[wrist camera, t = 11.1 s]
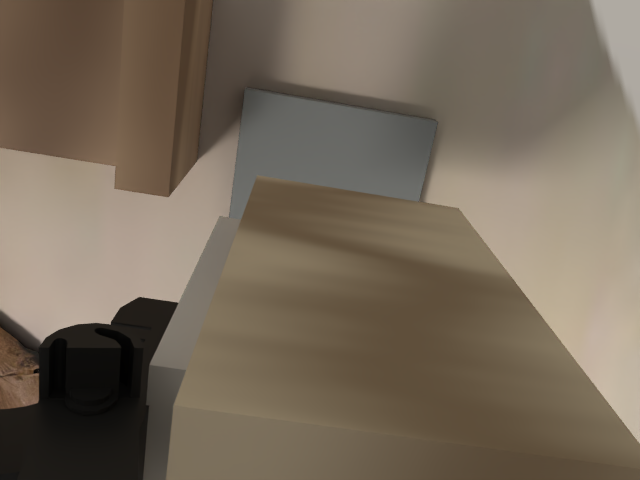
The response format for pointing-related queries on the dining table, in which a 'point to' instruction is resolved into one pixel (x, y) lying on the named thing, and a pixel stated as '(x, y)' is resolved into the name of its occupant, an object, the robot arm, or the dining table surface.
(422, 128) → the mat
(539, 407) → the cream tall block
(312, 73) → the dining table surface
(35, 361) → the wooden fragment
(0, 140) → the plank
